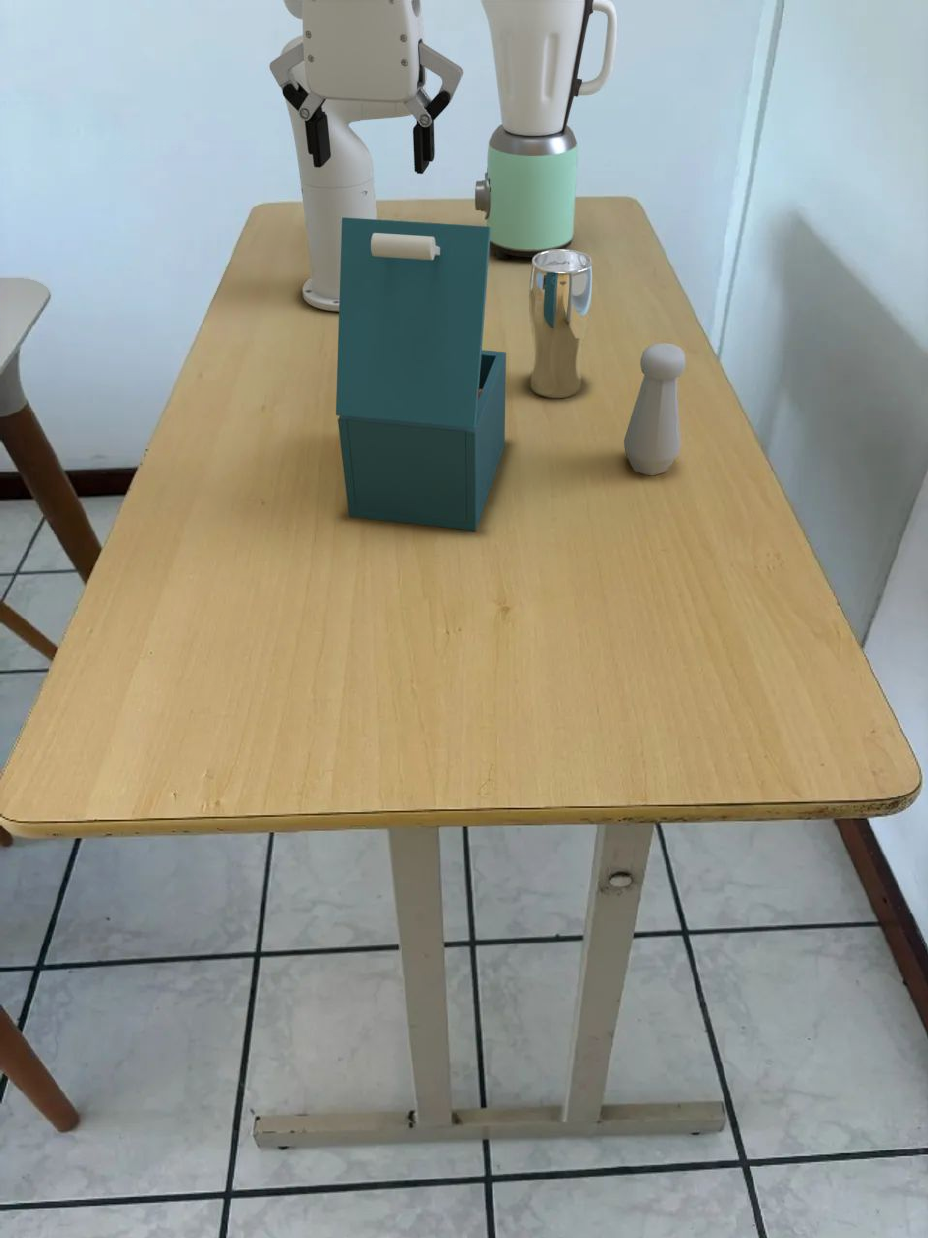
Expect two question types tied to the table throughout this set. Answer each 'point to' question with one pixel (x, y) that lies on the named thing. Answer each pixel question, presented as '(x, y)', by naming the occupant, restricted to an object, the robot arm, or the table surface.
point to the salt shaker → (656, 411)
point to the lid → (411, 320)
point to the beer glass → (559, 319)
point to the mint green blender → (537, 120)
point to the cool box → (427, 461)
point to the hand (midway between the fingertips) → (372, 165)
